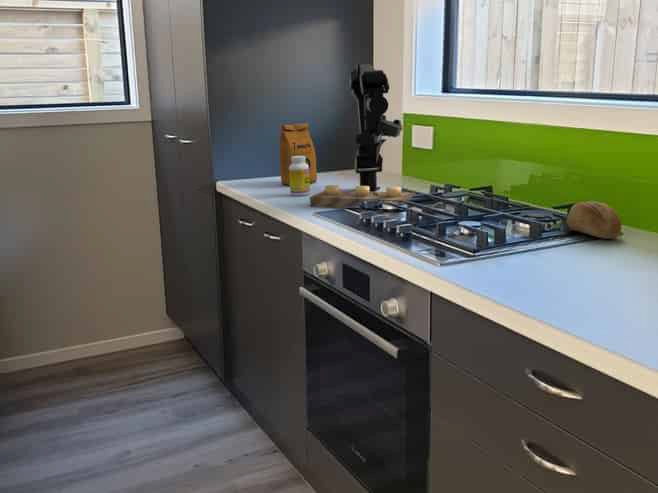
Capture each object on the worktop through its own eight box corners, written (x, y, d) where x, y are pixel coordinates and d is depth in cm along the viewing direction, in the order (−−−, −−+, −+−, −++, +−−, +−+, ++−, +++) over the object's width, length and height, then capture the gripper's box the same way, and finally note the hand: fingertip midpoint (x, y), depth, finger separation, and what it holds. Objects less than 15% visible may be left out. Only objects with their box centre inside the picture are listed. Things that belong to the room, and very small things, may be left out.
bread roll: (596, 244, 155) (598, 209, 153) (555, 230, 169) (556, 198, 167) (631, 239, 158) (633, 205, 156) (588, 226, 172) (589, 194, 170)
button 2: (389, 202, 210) (389, 186, 209) (403, 203, 208) (402, 186, 207) (384, 205, 206) (384, 188, 205) (398, 206, 204) (398, 189, 203)
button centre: (358, 201, 214) (358, 185, 213) (372, 202, 212) (371, 185, 211) (353, 204, 210) (352, 188, 209) (367, 205, 208) (366, 188, 207)
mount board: (310, 206, 212) (309, 196, 211) (325, 199, 222) (325, 190, 222) (404, 210, 200) (403, 200, 199) (415, 202, 211) (415, 192, 210)
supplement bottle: (307, 196, 229) (305, 157, 225) (288, 196, 230) (286, 158, 227) (312, 192, 235) (310, 155, 232) (293, 193, 236) (291, 155, 233)
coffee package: (320, 183, 253) (317, 122, 247) (290, 187, 247) (286, 125, 241) (308, 180, 261) (305, 121, 256) (278, 184, 255) (274, 124, 250)
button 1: (329, 200, 218) (328, 184, 217) (341, 201, 216) (341, 185, 215) (323, 203, 214) (322, 187, 213) (336, 203, 212) (335, 187, 211)
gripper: (389, 115, 200) (390, 168, 205) (407, 109, 217) (408, 158, 221) (353, 115, 205) (355, 167, 209) (374, 109, 221) (375, 158, 225)
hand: (375, 163), depth 216 cm, fingers closed
